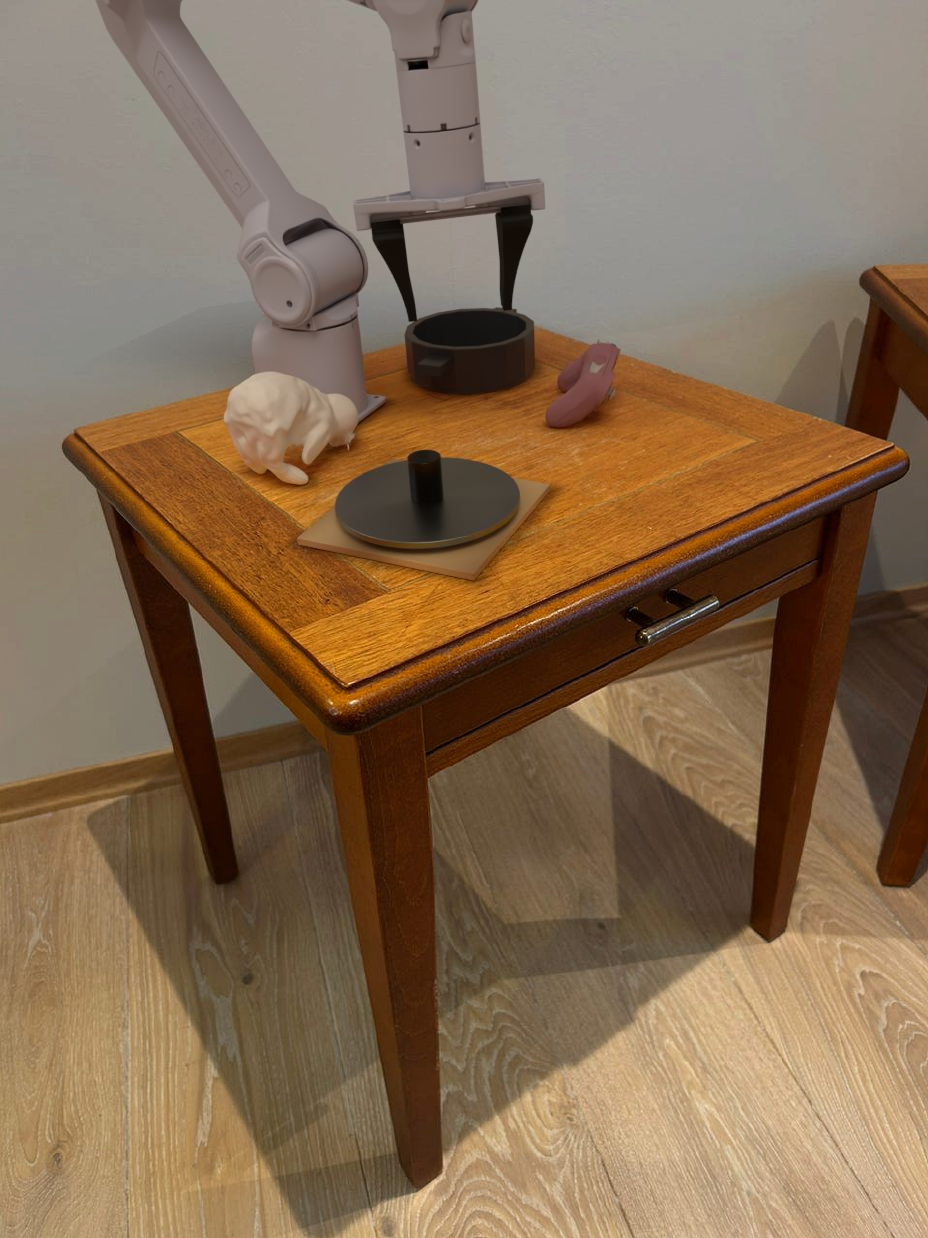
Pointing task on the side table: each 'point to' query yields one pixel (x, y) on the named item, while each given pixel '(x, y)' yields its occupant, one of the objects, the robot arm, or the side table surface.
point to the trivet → (442, 560)
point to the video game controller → (584, 385)
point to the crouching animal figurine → (286, 422)
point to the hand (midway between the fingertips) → (459, 312)
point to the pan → (470, 350)
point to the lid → (427, 502)
